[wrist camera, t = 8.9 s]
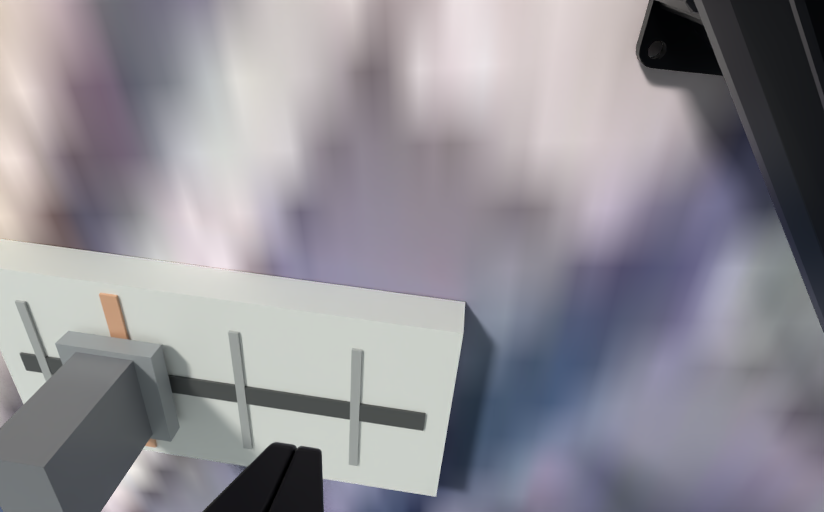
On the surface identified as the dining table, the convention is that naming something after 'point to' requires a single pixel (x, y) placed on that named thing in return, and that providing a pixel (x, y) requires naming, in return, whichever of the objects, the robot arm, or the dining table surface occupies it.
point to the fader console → (253, 357)
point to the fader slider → (85, 425)
